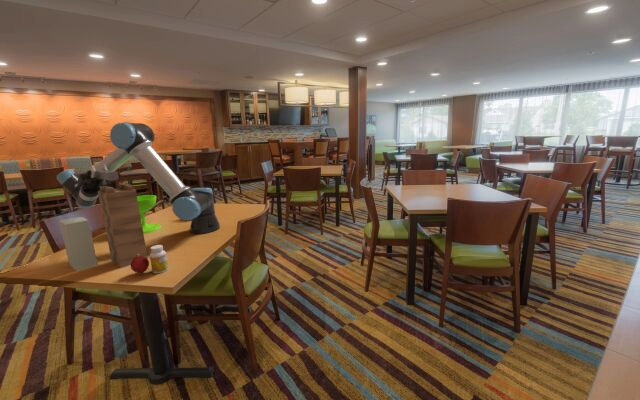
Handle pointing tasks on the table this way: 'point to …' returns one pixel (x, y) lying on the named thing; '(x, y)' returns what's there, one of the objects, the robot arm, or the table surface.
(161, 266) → the supplement bottle
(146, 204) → the wineglass
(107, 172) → the bar
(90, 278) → the table surface
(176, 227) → the table surface
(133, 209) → the stand
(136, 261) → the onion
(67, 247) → the rest block
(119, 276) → the table surface
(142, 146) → the robot arm
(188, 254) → the table surface
